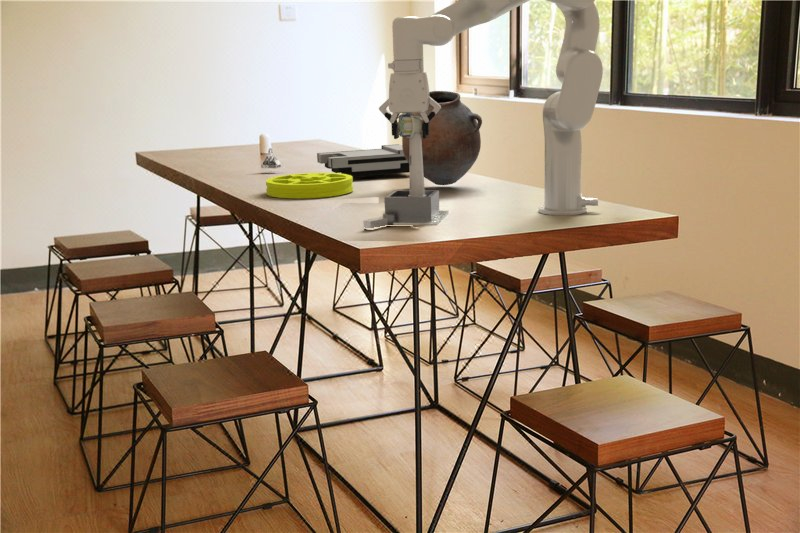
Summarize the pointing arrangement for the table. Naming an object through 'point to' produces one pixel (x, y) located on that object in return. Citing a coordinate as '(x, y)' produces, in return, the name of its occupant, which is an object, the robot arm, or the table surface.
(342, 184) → the pulley
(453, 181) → the clay pot
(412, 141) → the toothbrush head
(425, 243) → the table surface
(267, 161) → the house of cards
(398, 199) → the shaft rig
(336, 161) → the game console
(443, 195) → the table surface
